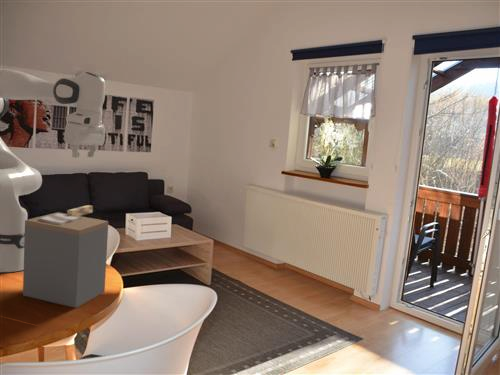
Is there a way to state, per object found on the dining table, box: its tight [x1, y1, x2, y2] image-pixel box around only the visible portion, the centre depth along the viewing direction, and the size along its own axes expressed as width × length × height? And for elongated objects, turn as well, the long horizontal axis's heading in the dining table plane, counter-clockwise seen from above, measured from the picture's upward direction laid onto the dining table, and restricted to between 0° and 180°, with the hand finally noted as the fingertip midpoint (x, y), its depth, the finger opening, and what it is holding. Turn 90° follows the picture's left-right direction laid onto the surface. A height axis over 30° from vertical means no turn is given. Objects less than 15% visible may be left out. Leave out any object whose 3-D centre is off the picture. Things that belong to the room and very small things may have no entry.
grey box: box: [22, 211, 109, 309], centre depth 159 cm, size 21×16×26 cm
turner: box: [38, 204, 94, 225], centre depth 162 cm, size 22×9×2 cm, turn 164°
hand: (83, 157), depth 166 cm, fingers open, 8 cm apart
